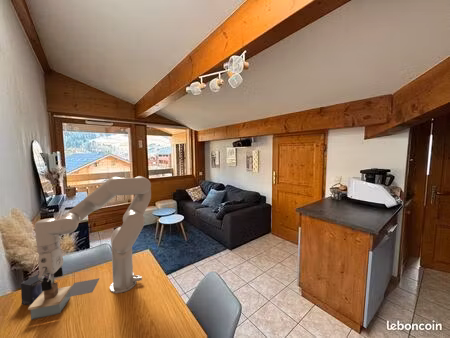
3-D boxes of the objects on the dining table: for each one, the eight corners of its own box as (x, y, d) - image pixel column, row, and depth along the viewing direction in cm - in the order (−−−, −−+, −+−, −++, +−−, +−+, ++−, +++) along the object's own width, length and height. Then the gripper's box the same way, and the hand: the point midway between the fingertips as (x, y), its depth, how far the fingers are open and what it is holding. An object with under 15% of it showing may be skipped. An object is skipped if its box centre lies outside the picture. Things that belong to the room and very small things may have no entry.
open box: (70, 298, 94) (69, 288, 93) (60, 314, 84) (59, 303, 84) (44, 303, 90) (44, 293, 90) (31, 320, 81) (30, 309, 81)
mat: (99, 278, 109) (99, 278, 109) (92, 292, 97) (92, 292, 97) (74, 283, 105) (74, 282, 105) (63, 298, 94) (63, 297, 94)
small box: (31, 306, 89) (30, 284, 88) (20, 304, 90) (19, 283, 89) (55, 291, 99) (54, 271, 98) (45, 289, 100) (44, 270, 100)
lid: (71, 287, 94) (70, 275, 94) (60, 303, 83) (59, 290, 83) (43, 292, 91) (42, 280, 90) (28, 310, 80) (27, 296, 80)
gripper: (48, 254, 79) (53, 293, 80) (67, 237, 95) (71, 270, 96) (25, 257, 76) (30, 298, 78) (49, 240, 93) (53, 273, 94)
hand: (53, 282), depth 87 cm, fingers open, 9 cm apart
